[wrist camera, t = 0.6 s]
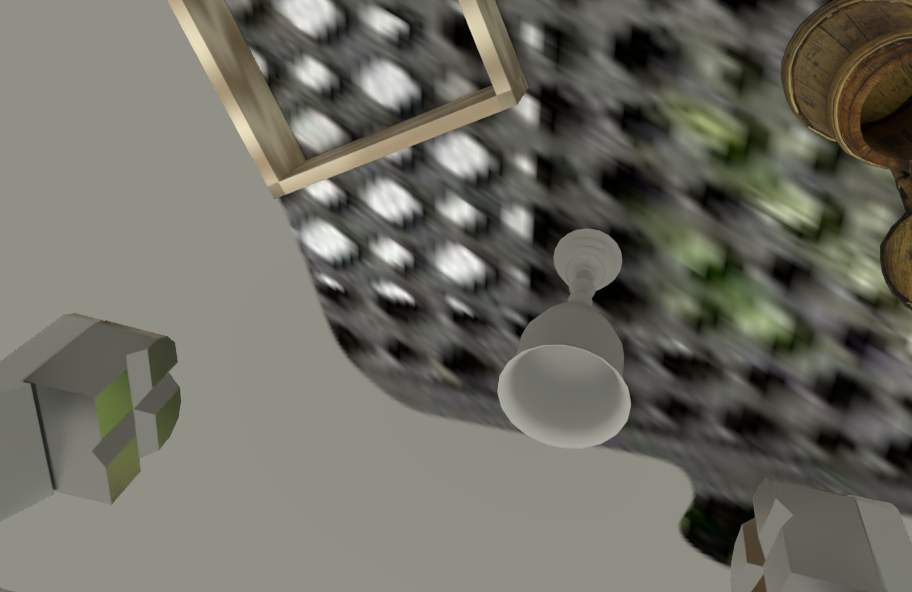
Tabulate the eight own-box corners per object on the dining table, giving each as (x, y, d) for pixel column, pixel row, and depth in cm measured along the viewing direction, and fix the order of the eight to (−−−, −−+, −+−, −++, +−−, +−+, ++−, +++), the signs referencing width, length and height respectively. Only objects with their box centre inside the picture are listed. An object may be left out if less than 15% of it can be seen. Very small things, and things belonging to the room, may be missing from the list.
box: (187, -44, 53) (146, -38, 49) (426, -179, 46) (402, -185, 42) (301, 176, 59) (274, 198, 55) (528, 86, 52) (517, 104, 48)
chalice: (527, 281, 59) (482, 421, 44) (555, 203, 56) (517, 326, 40) (618, 312, 59) (605, 465, 43) (651, 236, 55) (651, 372, 40)
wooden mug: (806, 216, 52) (869, 355, 37) (770, 17, 47) (826, 83, 32) (955, 182, 49) (1093, 319, 34) (933, -34, 44) (1084, 10, 29)
